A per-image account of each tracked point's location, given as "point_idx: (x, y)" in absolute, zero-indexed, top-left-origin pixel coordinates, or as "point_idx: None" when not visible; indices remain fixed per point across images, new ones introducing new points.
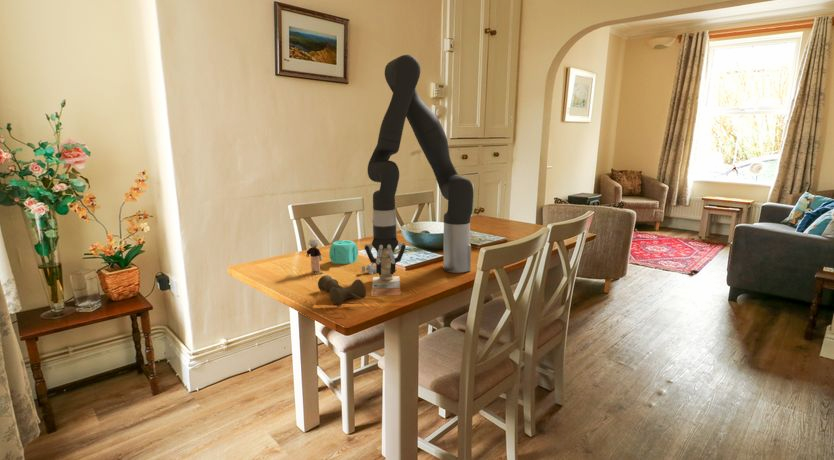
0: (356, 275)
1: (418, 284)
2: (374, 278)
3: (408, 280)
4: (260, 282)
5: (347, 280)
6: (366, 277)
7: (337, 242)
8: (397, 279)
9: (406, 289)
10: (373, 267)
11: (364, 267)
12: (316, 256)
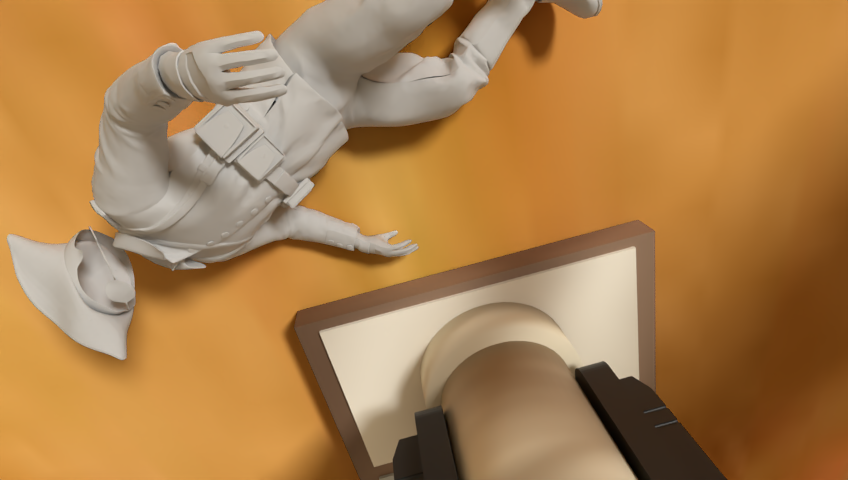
0: (11, 212)
1: (789, 346)
2: (356, 374)
3: (712, 267)
4: None
5: (27, 396)
6: (204, 263)
7: None
8: (616, 352)
9: None
10: (237, 206)
11: (108, 331)
12: None
